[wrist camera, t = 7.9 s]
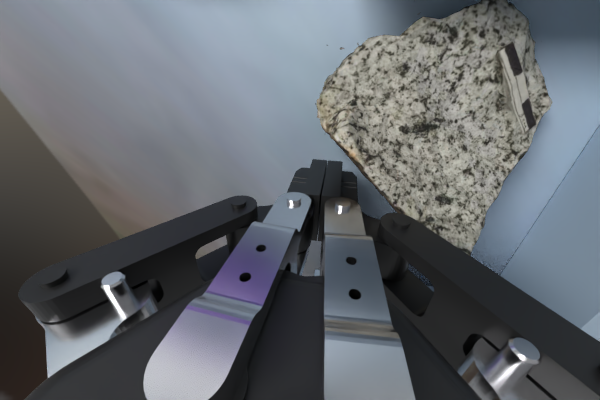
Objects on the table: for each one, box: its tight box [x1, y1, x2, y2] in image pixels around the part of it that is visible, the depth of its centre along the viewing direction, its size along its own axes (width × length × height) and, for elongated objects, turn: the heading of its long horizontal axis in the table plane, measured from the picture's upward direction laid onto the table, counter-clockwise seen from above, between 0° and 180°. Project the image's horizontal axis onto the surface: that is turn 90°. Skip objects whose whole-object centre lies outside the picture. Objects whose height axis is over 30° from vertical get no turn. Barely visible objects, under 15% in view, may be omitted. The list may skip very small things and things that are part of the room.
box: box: [314, 126, 600, 340], centre depth 11 cm, size 20×13×5 cm, turn 179°
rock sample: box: [315, 0, 552, 256], centre depth 10 cm, size 10×8×9 cm
